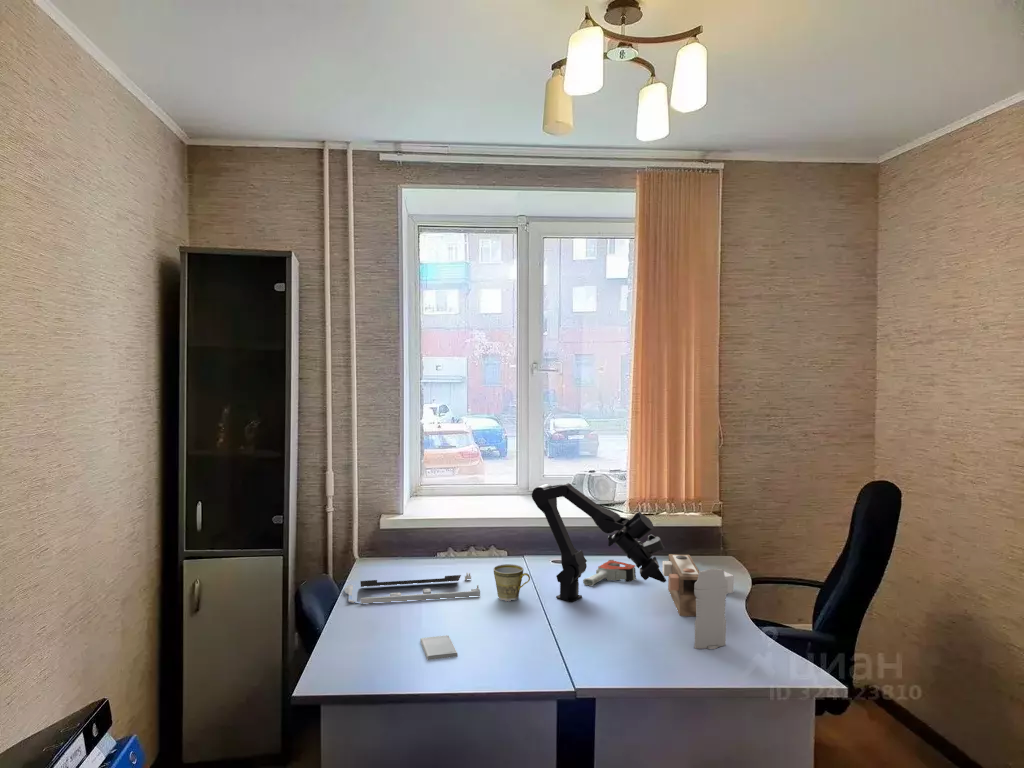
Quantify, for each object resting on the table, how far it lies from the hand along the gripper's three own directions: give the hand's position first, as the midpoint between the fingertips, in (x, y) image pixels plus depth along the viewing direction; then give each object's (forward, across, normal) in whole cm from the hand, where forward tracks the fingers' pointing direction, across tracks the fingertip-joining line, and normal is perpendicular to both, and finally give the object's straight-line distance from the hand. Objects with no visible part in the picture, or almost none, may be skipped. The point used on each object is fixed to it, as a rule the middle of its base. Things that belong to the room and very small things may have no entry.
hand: (665, 581), depth 219 cm
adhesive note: (+22, +20, -9) cm, 31 cm away
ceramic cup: (-28, +5, +41) cm, 51 cm away
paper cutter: (-53, +8, +66) cm, 85 cm away
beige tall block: (+13, -27, +1) cm, 30 cm away
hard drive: (-40, -36, +54) cm, 76 cm away
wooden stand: (+12, +7, +1) cm, 14 cm away
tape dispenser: (-4, +29, +18) cm, 35 cm away
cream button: (+4, +14, -1) cm, 15 cm away
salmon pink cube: (+4, 0, -1) cm, 4 cm away
